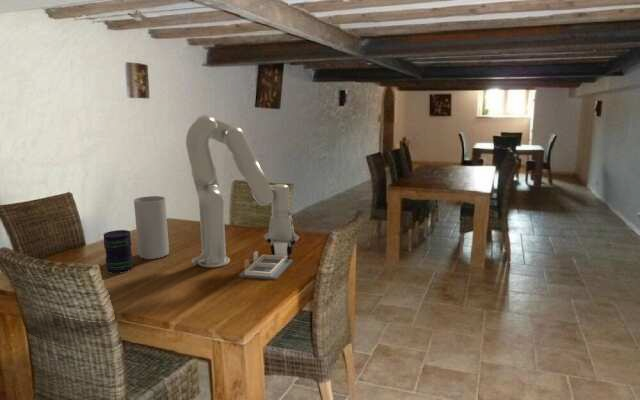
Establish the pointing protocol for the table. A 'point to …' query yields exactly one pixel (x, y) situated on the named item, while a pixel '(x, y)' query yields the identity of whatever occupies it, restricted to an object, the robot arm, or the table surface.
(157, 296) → the table surface
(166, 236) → the cylinder vase
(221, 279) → the table surface
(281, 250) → the shot glass
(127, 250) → the storage jar
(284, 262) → the well board
